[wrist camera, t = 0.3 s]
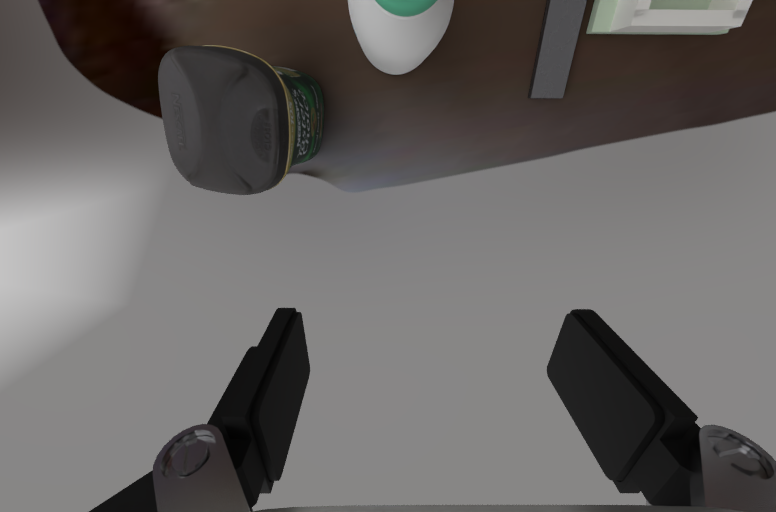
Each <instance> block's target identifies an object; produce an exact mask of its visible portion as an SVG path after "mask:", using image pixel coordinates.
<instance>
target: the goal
mask: <svg viewBox="0 0 776 512" xmlns="http://www.w3.org/2000/svg"><path fill="white" fill-rule="evenodd" d="M650 3H651V0H618V3H617V7H616V10H615V14H614V17H613V21H612V24H611V28H610V31H609V32H678V33H711V32H716V31H721V30H726V29H731V28H736V27H740V26H741V25H742V23H743V21H744V18H745V16H746V14H747V12H748V9H749V7H750V5H751V3H752V0H711V2H710V5H709V7H708V10H657V9H649V7H650Z"/></svg>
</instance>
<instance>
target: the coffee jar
mask: <svg viewBox="0 0 776 512" xmlns="http://www.w3.org/2000/svg"><path fill="white" fill-rule="evenodd" d="M158 83H159V94H160V103H161V110H162V117H163V123H164V128H165V134H166V139H167V143H168V148H169V151H170V154H171V158H172V160H173V162H174V164H175V166H176V168H177V169H178V171H179V172H180V173H181V175H182V176H183V177H184V178H185V179H186V180H187V181H189V182H190V184H192V185H193V186H196V187H199V188H203V189H206V190H211V191H216V192H221V193H227V194H238V195H249V194H256V193H261V192H263V191H266V190H269V189H272V188H274V187H275V186H277V185H278V184H279V183H280V182H281V181H282V180H283V179H284V177H285V176H286V174H287V172H288V171H289V169H290V167H291V166H293V165H295V164H299V163H303V162H305V161H308V160H310V159H311V158H313V157H314V156H315V155H316V154H317V152H318V151H319V148H320V145H321V140H322V134H323V124H324V104H323V95H322V92H321V89H320V87H319V85H318V84H317V82H316V81H315V80H314V79H313V78H312V77H310V76H309V75H307V74H305V73H302V72H300V71H296V70H293V69H289V68H285V67H276V66H271V65H270V64H268V63H267V62H266V61H264V60H263V59H261V58H259V57H257V56H255V55H253V54H250V53H248V52H245V51H242V50H239V49H235V48H231V47H225V46H215V45H204V46H183V47H178V48H174V49H172V50H170V51H169V52H167V53H166V54H165V56H164V57H163V59H162V61H161V63H160V67H159V73H158Z"/></svg>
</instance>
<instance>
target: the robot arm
mask: <svg viewBox="0 0 776 512" xmlns="http://www.w3.org/2000/svg"><path fill="white" fill-rule="evenodd" d="M309 374H310V364H309V358H308V352H307V345H306V339H305V333H304V327H303V321H302V314H301V312H296V309H295V308H278V309H277V310H276V312H275V314H274V316H273V318H272V320H271V321H270V323H269V325H268V327H267V329H266V331H265V333H264V335H263V337H262V339H261V341H260V342H259V344H258V346H257V347H251V348H249V349H248V351H247V352H246V354H245V356H244V358H243V360H242V361H241V363H240V365H239V367H238V369H237V370H236V372H235V374H234V376H233V378H232V380H231V381H230V383H229V385H228V387H227V389H226V391H225V392H224V394H223V396H222V398H221V400H220V401H219V403H218V405H217V407H216V408H215V411H214V412H213V414H212V416H211V418H210V420H209V421H208V423H207V424H201V425H196V426H192V427H190V428H188V429H186V430H183V431H182V432H180V433H179V434H177V435H176V436H174V437H173V438H172V439H171V440H170V441H169V442H168V443H167V444H166V445H164V447H163V448H162V450H161V451H160V452H159V454H158V455H157V457H156V460H155V462H154V465H153V471H151V472H149V473H148V474H146V475H145V476H143V477H142V478H140V479H139V480H137V481H136V482H134V483H132V484H131V485H129V486H128V487H126V488H125V489H123V490H122V491H120V492H119V493H117V494H116V495H114V496H113V497H111V498H109V499H108V500H106V501H105V502H103V503H102V504H100V505H99V506H97V507H95V508H94V509H92V510H91V511H89V512H253V509H252V507H253V506H254V505H255V504H256V503H257V500H258V497H259V494H260V493H271V490H272V487H273V483H274V481H277V480H278V481H279V479H280V478H281V475H282V472H283V469H284V465H285V461H286V458H287V454H288V450H289V447H290V444H291V440H292V436H293V433H294V429H295V426H296V421H297V418H298V415H299V411H300V407H301V404H302V400H303V397H304V393H305V389H306V386H307V382H308V379H309ZM547 374H548V377H549V379H550V381H551V382H552V384H553V386H554V388H555V389H556V391H557V393H558V395H559V396H560V398H561V400H562V401H563V403H564V405H565V407H566V408H567V410H568V412H569V414H570V415H571V417H572V419H573V420H574V422H575V424H576V426H577V427H578V429H579V431H580V432H581V434H582V436H583V438H584V439H585V441H586V443H587V444H588V446H589V448H590V450H591V451H592V453H593V455H594V456H595V458H596V460H597V462H598V463H599V465H600V467H601V468H602V470H603V472H604V474H605V475H606V476H607V477H608V478H609V479H610V480H613V482H614V484H615V485H616V487H617V489H618V490H619V492H620V493H639V492H640V491H641V492H642V493H643V495H644V496H645V498H646V499H647V501H646V506H645V505H382V506H381V505H379V506H378V505H377V506H375V505H372V506H321V507H290V508H278V509H267V510H259V511H254V512H776V461H775V460H774V459H773V458H772V456H771V455H769V454H768V453H767V452H766V451H765V450H764V449H763V448H761V447H760V446H759V445H757V444H756V443H754V442H753V441H752V440H750V439H749V438H747V437H745V436H743V435H741V434H739V433H737V432H736V431H733V430H731V429H728V428H725V427H722V426H717V425H705V426H703V427H702V428H700V427H699V426H698V425H697V424H696V423H695V421H696V420H697V418H698V417H697V416H696V415H695V414H694V413H693V412H692V411H691V409H690V408H688V406H687V405H686V404H685V403H684V402H683V401H682V400H681V399H680V398H679V397H678V396H677V395H676V394H675V393H674V392H673V391H672V390H671V389H670V388H669V387H668V386H667V385H666V384H665V383H664V382H663V381H662V380H661V379H660V378H659V377H658V376H657V375H656V374H655V373H654V372H653V371H652V370H651V369H650V368H649V367H648V366H647V365H646V364H645V363H644V361H643V360H642V359H641V358H640V357H639V356H638V355H637V354H636V353H635V352H634V351H633V350H632V349H631V348H630V347H629V346H628V345H627V344H626V343H625V342H624V341H623V340H622V339H621V338H620V337H619V336H618V335H617V334H616V333H615V332H614V331H613V330H612V329H611V328H610V327H609V326H608V325H607V324H606V323H605V322H604V321H603V320H602V318H600V316H599V315H598V314H597V313H595V312H594V311H593V310H589V309H587V310H586V309H582V310H581V309H579V310H578V309H576V310H572V311H571V312H570V314H567V315H566V317H565V320H564V322H563V325H562V328H561V330H560V333H559V336H558V339H557V341H556V344H555V347H554V350H553V352H552V355H551V358H550V361H549V363H548V366H547Z"/></svg>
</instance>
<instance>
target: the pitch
mask: <svg viewBox="0 0 776 512" xmlns="http://www.w3.org/2000/svg"><path fill="white" fill-rule="evenodd" d="M710 2H711V0H651V3H650V7H649V9H657V10H708V7H709V5H710ZM617 3H618V0H594V4H593V8H592V12H591V16H590V20H589V24H588V28H587V32H586V34H690V35H719V34H724V33H728V31H729V29H726V30H721V31H716V32H711V33H678V32H609V31H610V28H611V24H612V21H613V17H614V14H615V10H616V7H617Z"/></svg>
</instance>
